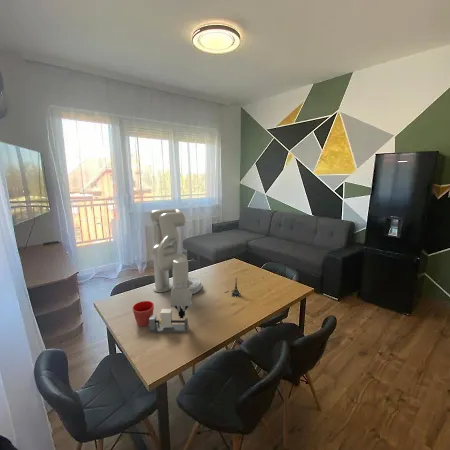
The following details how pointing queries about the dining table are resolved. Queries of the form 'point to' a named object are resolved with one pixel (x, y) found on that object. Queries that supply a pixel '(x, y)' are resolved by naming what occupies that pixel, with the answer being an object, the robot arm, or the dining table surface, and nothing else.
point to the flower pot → (143, 312)
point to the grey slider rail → (173, 329)
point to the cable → (195, 285)
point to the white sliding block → (166, 317)
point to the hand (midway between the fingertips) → (182, 316)
